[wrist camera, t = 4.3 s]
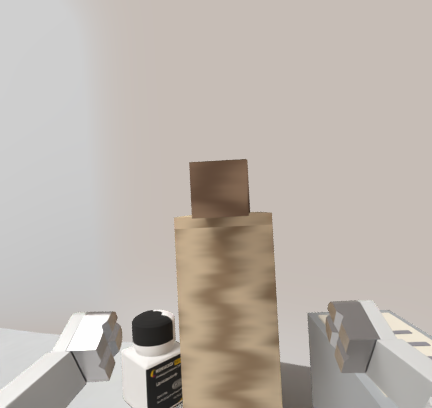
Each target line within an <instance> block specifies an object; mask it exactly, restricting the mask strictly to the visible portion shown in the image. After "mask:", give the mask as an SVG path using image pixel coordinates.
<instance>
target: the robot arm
mask: <svg viewBox="0 0 432 408" xmlns="http://www.w3.org/2000/svg"><path fill="white" fill-rule="evenodd" d="M328 311H329V315H328V316H327V317H326V322H325V326H326V333H327V337H328V340H329V342H330V344H331V345H332V346H333V347H335V348H336V349H335V354H334V356H335V358H336V361H337V363H338V366H339V369H340V371H341V373H366V375H367V376H368V377H369V378H370V379H371V380H372V381H373V382H374V383H375V384H376V385H377V386H378V387H379V388H380V389H381V390H382V391H383V392H384V393H385V394H386V395H387V396H388V397H389V398H390V399H391V400H392V401H393V402H394V403H395V404H396V405H397V406H398V407H399V408H432V360H431V359H430V358H429V357H427V356H426V355H424V354H423V353H421V352H420V351H419V350H417V349H416V348H414V347H413V346H411V345H410V344H408V343H407V342H406V341H404V340H403V339H397V337H396V336H395V334H394V333H393V331H392V329H391V328H390V326H389V325H388V323H387V321H386V320H385V318H384V317H383V315H382V313H381V312H380V310H379V309H378V307H377V305H376V304H375V302H373V301H372V300H359V301H337V302H330V303H329V304H328ZM116 321H117V315H116V312H76V313H74V314H73V315H72V316H71V318H70V319H69V321H68V323H67V325H66V327H65V328H64V330H63V332H62V334H61V336H60V337H59V339H58V341H57V343H56V345H55V346H54V348H53V350H52V352H47V353H46V354H45V355H43V356H42V357H41V358H40V359H38V360H37V361H36V362H35V363H33V364H32V365H31V366H30V367H28V368H27V369H26V370H25V371H24V372H22V373H21V374H20V375H19V376H17V377H16V378H15V379H14V380H12V381H11V382H10V383H9V384H7V385H6V386H5V387H4V388H2V389H1V390H0V408H66V407H67V406H68V405H69V403H70V402H71V401H72V400H73V399H74V398H75V396H76V395H77V394H78V393H79V392H80V391H81V389H82V388H83V387H84V386H85V385H86V382H99V381H109V380H110V377H111V374H112V371H113V368H114V365H115V361H114V358H113V357H114V356H115V355H116V354H117V353H118V352H119V350H120V347H121V343H122V329H121V326H120V325H119V324H118V323H116Z"/></svg>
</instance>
